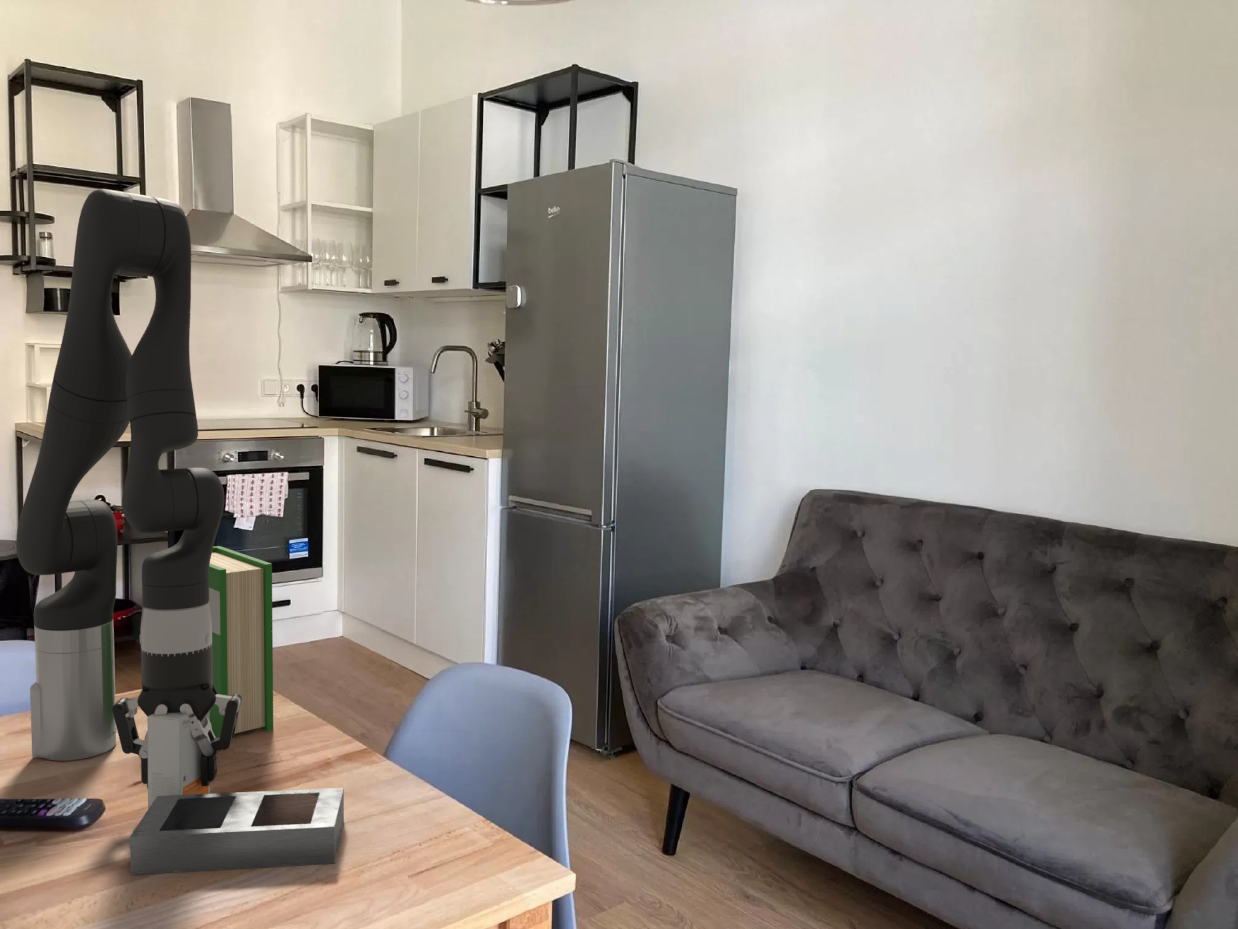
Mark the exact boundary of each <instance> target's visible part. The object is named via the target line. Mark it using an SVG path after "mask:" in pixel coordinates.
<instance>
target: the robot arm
mask: <svg viewBox="0 0 1238 929" xmlns="http://www.w3.org/2000/svg"><path fill="white" fill-rule="evenodd" d="M190 231H191V230H190V225H189V221H188V218H187V215H186V213H185V211H184V210H183V208H182V207H181V205H179V204H178V203H177V202H175V201H172V200H169V199H165V198H162V197H155V196H150V195H144V194H139V193H133V192H126V191H120V190H112V189H107V188H99V189H94V190H92V192H90V193H89V194H88V195H87V197H86V199H85V201H84V203H82V208H81V210H80V214H79V218H78V223H77V228H76V237H75V245H74V246H75V247H74V254H73V263H72V264H73V265H72V273H71V274H72V275H71V281H70V292H69V301H68V308H67V314H66V319H65V325H64V328H63V330H64V331H63V333H62V334H63V335H62V340H61V344H60V347H59V348H60V349H59V352H58V356H57V361H56V365H55V369H54V372H53V373H54V374H53V377H52V383H51V386H50V387H51V389H50V392H49V398H48V404H47V410H46V416H45V417H46V418H45V424H44V429H43V433H42V439H41V442H40V447H39V452H38V457H37V461H36V464H35V467H34V470H33V474H32V477H31V480H30V483H29V485H28V486H29V487H28V489H27V493H26V496H25V498H24V503H23V506H22V509H21V512H20V516H19V519H18V523H17V524H18V525H17V531H16V542H15V543H16V545H15V547H16V554H17V557H18V562H19V564H20V565H21V567H22V568H23V569H24V571H25V572H26V573H29V574H31V575H35V576H51V575H60V574H67V573H74V574H73V576H72V578H71V579H70V581H69V582H67V584H65V585H64V586H63V587H62V588H60V589H58V591H56V592H54V593H52V594H50V595H48V596H46V597H44V598H43V599H41V600H40V601H39V602H38V603H36V604H35V607H34V609H33V610H34V611H33V624H34V625H33V626H34V648H35V649H34V650H35V651H34V653H35V654H34V655H35V656H34V657H35V682H34V683H33V684H32V685H30V688H29V693H30V695H29V698H30V727H31V730H30V732H31V758H43V759H45V760H51V761H62V762H63V761H75V760H81V759H82V760H83V759H86V758H92V757H96V756H99V755H102V754H104V753H107V752H109V751H110V750H112V749H113V748H115V746H116V745H117V735H118V737H119V738H118V739H119V743H120V747H121V750H122V752H123V753H124V754H126V755H127V754H128V755H129V754H134V755H137V756H139V758H140V771H141V772H140V775H141V782H142V784H143V785H146V789H147V790H148V729H147V731H146V733H145V736H144V739H140V737H139V736H140V735H139V732H138V729H137V724H136V720H135V716H136V715H137V713H138V707H139V709H140V710H141V711H142V712H143V714H144V715H146V717H147V718H148V716H150V715H152V714H154V715H153V716H159V715H166V714H167V713H178V712H181V714H182V715H188V716H189V717H190V731H191V733H192V735H193V737H194V739H195V740H197V742H198V744H199V746H200V749H201V751H202V753H203V754H202V756H201V785H202V786H209V784H210V785H211V783H212V782H214V780H215V778H216V776H217V774H218V752H220V751H222V750H223V751H226V750H228V748H230V745H231V744H232V742H233V741H234V738H235V735H236V733H235V729H236V724H237V719H238V715H239V710H240V705H241V700H242V697H241V695H239V694H234V695H232V696H226V695H220V694H217V691H216V690H215V688H214V685H213V660H212V618H211V612H210V605H209V564H210V559H211V554H212V550H213V547H215V546H214V545H215V541H216V538H217V533H218V531H219V527H220V524H221V520H222V516H223V512H224V507H225V499H226V498H225V490H224V487H223V483H222V481H221V479H220V478H219V477H218V475H217V474H216V473H215V472H214V471H213V470H211V469H209V468H206V467H205V468H204V467H185V468H184V467H183V468H182V467H181V468H180V467H179V468H165V469H160V468H159V467H160V466H159V462H160V459H161V456H162V455H163V454H165V453H169V452H173V451H177V450H181V449H185V448H188V447H190V446H192V445H194V443H195V442H196V441H197V440H198V437H199V426H198V419H197V418H198V417H197V411H196V403H195V397H194V396H195V395H194V390H193V382H192V374H191V373H192V371H191V360H190V359H191V358H190V357H191V356H190V337H191V336H190V332H191V330H190V328H191V304H192V242H191V232H190ZM119 273H120V274H128V275H136V276H137V275H138V276H143V277H144V276H145V277H151V278H152V279H153V282H154V289H155V302H154V308H153V312H152V314H151V316H150V319H149V322H148V324H147V326H146V329H145V330H144V331H143V334H142V336H141V338H140V339H139V340H138V343H137V345H136V347H135V349H134V351H133V353H132V352H131V350H130V348H129V346H128V344H127V342H126V340H125V338H124V336H123V334H122V333H121V330H120V328H119V326H118V323H117V321H116V319H115V318H116V317H115V315H114V313H113V308H112V289H113V288H112V286H113V283H114V278H115V276H116V274H119ZM128 426H129V427H130V445H129V446H130V447H129V448H130V450H129V458H128V466H127V471H126V476H125V482H124V485H123V486H124V487H123V491H122V498H121V502H122V503H121V508H122V512H123V516H124V518H125V520H126V522H127V523H128V524H129V525H130V526H131V528H132V529H133V530H135V531H137V532H139V533H140V534H141V533H142V534H155V533H156V534H157V533H164V532H166V533H167V532H176V531H183V532H182V535H181V537H180V539H179V540H178V542H176V544H174V545H172V546H171V547H168V548H165V549H162V550H159V551H156V552H154V553H152V554H149V555H148V556H146V557H145V558H144V560H143V562H142V564H141V592H142V594H141V595H142V596H141V597H142V600H141V601H142V606H141V607H142V610H141V619H140V634H139V644H140V665H141V666H140V668H141V691H140V693H139V695H138V696H136V697H132V698H128V697H126V696H125V697H124V696H123V697H120V699H118V700H117V701H116V679H115V677H116V675H115V673H116V672H115V670H116V669H115V639H114V638H115V635H114V634H115V632H114V606H115V602H116V597H117V571H118V570H117V569H118V568H117V566H118V529H117V528H118V527H117V522H116V518H115V515H114V512H113V511H112V509H111V508H110V506H109V504H107V503H106V502H104V501H102V500H100V499H83V500H72V497H73V494H74V492H75V491H76V489H77V487H78V485H79V484H80V482H81V481H82V480H83V478H84V477H85V476H86V475H87V474H88V473H89V471H91V469H92V468H93V467H94V466H96V465H97V463H98V462H99V461H100V460H101V459H102V458H103V457H104V456H106V454H107V453H108V452H109V451H110V450H111V449H112V448H113V447H114V446H115V445H117V443H118V442H119V440H120V439H122V438H121V437H122V436H123V435H124V433H125V431H126V430H127V429H128ZM71 500H72V501H71ZM214 704H216V705H218V707H219V712H220V714H221V715H224V720H223V725H222V730H221V735H220V737H217V738H216V737H215V735H214V733H213V731H212V726H211V723H210V721H209V719H208V717H206V721H205V724H204V725H203V726H202V725H201V723H200V722H201V721H202V720H203V718H204V717H205V716H206V714H207V713H208V712H209V710H210V709H211V708H212V706H213V705H214Z"/></svg>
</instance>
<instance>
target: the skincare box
mask: <svg viewBox="0 0 1238 929" xmlns="http://www.w3.org/2000/svg"><path fill="white" fill-rule="evenodd" d="M153 715H154V714H152V715H150V716H148V717H147V730H148V789H147V810H148V809H149V808H150V806H151V805H152V803H153V802H154V800H155V799H156V797H157V796H169V795H192V794H211V793H210V790H211V789H210V788H211V786H210V785H211V783H210V784H209V786H202V785H201V756H202V754H203V753H202V751H201V749H200V746H199V744H198V742H197V740H195V739H194V737H193V735H192V733H191V731H190V717H189V716H188V715H182V714H181V712H178V713H167V714H166V715H159V716H153ZM206 717H208V719H209V721H210V710H209V712H208V713H207V714H206V716H205V717H204V718H203V720H202V721H201V722H200V723H201V725H202V726H203V725H204V724H205V721H206Z"/></svg>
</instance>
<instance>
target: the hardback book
mask: <svg viewBox="0 0 1238 929" xmlns="http://www.w3.org/2000/svg"><path fill="white" fill-rule="evenodd" d="M209 605H210V612H211V618H212V660H213V685H214V688H215V690H216V691H217V694H220V695H226V696H232V695H234V694H239V695H241V697H242V700H241V705H240V710H239V715H238V719H237V724H236V729H235V734H238V733H243V732H247V731H252V730H255V729H261V730H263V731H265V732H266V733H270V732H273V731H274V668H273V667H274V666H273V665H274V663H273V662H274V660H273V659H274V658H273V657H274V656H273V655H274V654H273V652H274V651H273V649H274V646H273V635H274V634H273V564H272V563H271V562H267V561H265V560H262V559H259V558H256V557H254V556H253V557H252V556H251V555H250V556H249V555H248V554H243V553H242V552H240V551H235V550H232V549H230V548H227V547H224V546H221V545H217V546H213V550H212V554H211V559H210V564H209ZM223 720H224V715H221V714H220V712H219V707H218V705H216V704H214V705H213V706H212V708H211V709H210V723H211V726H212V731H213V733H214V735H215V737H216V738H217V737H220V735H221V730H222V725H223Z"/></svg>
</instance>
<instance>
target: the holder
mask: <svg viewBox="0 0 1238 929" xmlns="http://www.w3.org/2000/svg"><path fill="white" fill-rule="evenodd" d="M344 791H345V790H344V787H333V788H330V787H329V788H314V789H313V788H311V789H310V788H307V789H289V790H288V789H287V790H266V791H265V790H262V791H243V792H241V791H240V792H222V793H221V792H218V793H216V792H215V793H210V794H192V795H169V796H157V797H156V799H155V800H154V802H153V803H152V805H151V806H150V808H149V809H148V808H147V811H146V812H145V813H144V815H143V817H142V818H141V819H140V821H139V823H138V824H136V827H135V829H134V830H133V831H132V833H131V834H130V836H129V850H130V851H129V856H130V858H129V859H130V860H129V861H130V862H129V864H130V875H131V876H132V875H136V876H137V875H149V874H150V875H151V874H152V875H154V874H170V873H173V874H174V873H187V872H191V873H192V872H207V871H208V872H209V871H221V870H222V871H226V870H241V869H245V870H246V869H256V868H257V869H261V868H277V867H280V868H281V867H294V866H295V867H296V866H299V867H300V866H315V865H329V864H328V863H334V864H335V861H336V856H337V854H338V849H339V844H340V839H341V836H342V831H343V827H344V823H345V815H344V812H345V809H344V808H345V806H344V805H345V802H344V800H345V799H344V797H345V796H344V795H345V793H344ZM336 853H337V854H336Z"/></svg>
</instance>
